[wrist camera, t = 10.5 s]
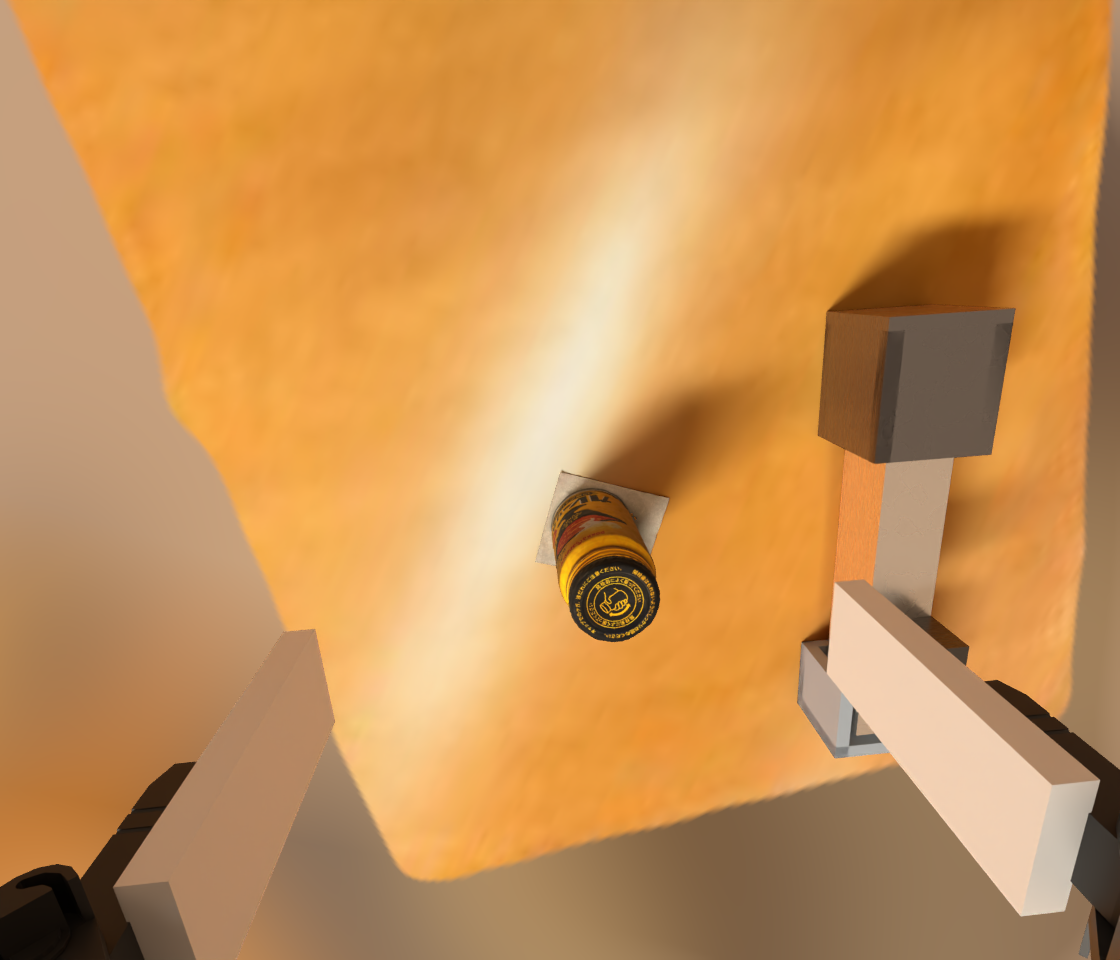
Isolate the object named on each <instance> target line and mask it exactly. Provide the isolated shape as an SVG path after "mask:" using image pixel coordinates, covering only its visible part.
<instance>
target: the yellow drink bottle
mask: <svg viewBox="0 0 1120 960" xmlns="http://www.w3.org/2000/svg"><path fill="white" fill-rule="evenodd" d="M668 501H669V498H666V497H661V496H657V495H653V494H649V493H644V492H640V491H636V490H632V489H628V488H624V487H620V486H616V485H612V484H608V483H604V482H600V481H596V480H591V479H588V478H583V477H578V476H575V475H571V474H566V473H560V475H559V478H558V482H557V485H556V488H555V492H554V496H553V499H552V503H551V506H550V510H549V513H548V517H547V521H546V524H545V528H544V531H543V535H542V539H541V543H540V546H539V550H538V554H537V557H536V561H535V562H538V563H543V564H548V565H553V566H556V568H557V574H558V583H559V587H560V591H561V594H562V597H563V598H564V600H565V602H566V603H567V605H568V606H569V608H570V612H571V615H572V618H573V620H574V622H575V623H576V624H577V625H578V627H579V628H580V629H581V630H583V631H584V632H585V633H587V634H588V635H590V636H591V637H593V638H595V639H597V640H603V641H609V642H618V641H624V640H628V639H630V638H632V637H634V636H635V635H637V634H638V633H640V632H641V631H643V630H644V629H645V628H646V627H647V626H648V625H650V624H651V623H652V621H653V619H654V617H655V616H656V613H657V610H658V608H659V603H660V591H659V587H658V584H657V581H656V569H655V565H654V562H653V559H652V557H651V555H650V554H651V551H652V548H653V545H654V542H655V539H656V534H657V533H658V530H659V528H660V525H661V522H662V518H663V515H664V512H665V510H666V507H667V504H668ZM631 513H633V516H632V515H631ZM634 517H636V520H635V519H634Z"/></svg>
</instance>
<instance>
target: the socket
mask: <svg viewBox="0 0 1120 960" xmlns="http://www.w3.org/2000/svg"><path fill="white" fill-rule="evenodd" d="M828 641H829V639H828V640H818V641H807V642H802V645H801V659H800V673H799V687H798V701H797V703H798V704H799V706H800V707H801V709H802V710H803V712H804V713H805V715H806V716H807V718H808V719H809V721H810V722H811V724H812V725H813V727H814V728H815V730H816V731H817V733H818V734H819V736H820V737H821V739H822V740H823V742H824V743H825V745H826V746H827V747H828V749H829V750H830V752H831V753H832V755H833V756H834V758H843V757H853V756H862V755H872V754H881V753H890V752H889V751H888V750H887V748H886V747H885V746H884V745H883V743H882V742H881V741H880V740H879V738H878V737H877V736H876V734H867V735H857V736H856V735H855V734H854V732H853V731H852V730H851V721H852V712H853V706H852V704H851V703H850V702H849V701H848V699H847V698H846V697H845V696H844V694H843V693H842V692H841V691H840V689H839V688H838V687H837V686H836V684H835V683H834V682H833V681H832V679H831V678H830V677H829V676H828V674H827V664H828V658H827V652H828Z"/></svg>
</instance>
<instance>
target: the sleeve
mask: <svg viewBox="0 0 1120 960" xmlns="http://www.w3.org/2000/svg"><path fill="white" fill-rule="evenodd" d="M1014 314H1015V308H997V307H977V306H957V305H936V304H929V305H915V306H900V307H886V308H872V309H857V310H843V311H828V312H827V316H826V330H825V344H824V358H823V372H822V385H821V399H820V413H819V427H818V436H820V437H822V438H824V439H826V440H828V441H830V442H832V443H834V444H836V445H838V446H839V447H841V448H843V449H845V450H847V451H849V452H851V453H853V454H855V455H857V456H859V457H861V458H863V459H865V460H867V461H869V462H871V463H873V464H882V463H894V462H906V461H918V460H931V459H943V458H955V457H967V456H980V455H991V453H992V447H993V441H994V435H995V429H996V423H997V417H998V411H999V405H1000V399H1001V393H1002V387H1003V381H1004V375H1005V369H1006V363H1007V356H1008V350H1009V344H1010V338H1011V332H1012V326H1013V320H1014Z"/></svg>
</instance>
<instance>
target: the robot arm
mask: <svg viewBox="0 0 1120 960" xmlns="http://www.w3.org/2000/svg"><path fill="white" fill-rule="evenodd" d="M827 674H828V676H829V677H830V678H831V679H832V681H833V682H834V683H835V684H836V686H837V687H838V688H839V689H840V691H841V692H842V693H843V694H844V696H845V697H846V698H847V699H848V701H849V702H850V703H851V704H852V706H853V707H854V708H855V709H856V711H857V712H858V713H859V714H860V716H861V717H862V718H863V719H864V721H865V722H866V723H867V724H868V726H869V727H870V728H871V729H872V731H873V732H874V733H875V734H876V736H877V737H878V738H879V740H880V741H881V742H882V743H883V745H884V746H885V747H886V748H887V750H888V751H889V752H890V753H891V755H892V756H893V757H894V758H895V760H896V761H897V762H898V763H899V765H900V766H901V767H902V768H903V769H904V771H905V772H906V773H907V774H908V776H909V777H910V778H911V780H912V781H913V782H914V783H915V785H916V786H917V787H918V788H919V789H920V791H921V792H922V793H923V795H924V796H925V797H926V798H927V800H928V801H929V802H930V803H931V805H932V806H933V807H934V808H935V810H936V811H937V812H938V813H939V815H940V816H941V817H942V818H943V820H944V821H945V822H946V823H947V825H948V826H949V827H950V828H951V830H952V831H953V832H954V833H955V834H956V835H957V837H958V838H959V840H960V841H961V842H962V843H963V845H964V846H965V847H966V848H967V850H968V851H969V852H970V853H971V855H972V856H973V857H974V858H975V860H976V861H977V862H978V863H979V865H980V866H981V867H982V869H983V870H984V871H985V872H986V874H987V875H988V876H989V877H990V879H991V880H992V881H993V882H994V884H995V885H996V886H997V887H998V888H999V890H1000V891H1001V892H1002V894H1003V895H1004V896H1005V897H1006V898H1007V900H1008V901H1009V902H1010V903H1011V905H1012V906H1013V907H1014V908H1015V910H1016V911H1017V912H1018V914H1019V915H1020V916H1028V915H1036V914H1044V913H1053V912H1061V911H1065V908H1066V905H1067V901H1068V897H1069V894H1070V890H1071V886H1072V883H1073V884H1074V885H1075V886H1076V888H1077V889H1078V890H1079V891H1080V892H1081V893H1082V894H1083V895H1084V896H1085V897H1086V898H1087V899H1088V901H1090V903H1091V904H1092V909H1091V912H1090V916H1089V919H1088V923H1087V926H1086V930H1085V933H1084V937H1083V940H1082V943H1081V947H1080V951H1079V955H1081V956H1083V957H1085V958H1088V955H1089V952H1090V950H1091V960H1120V770H1119V769H1118V768H1117V767H1116V766H1114V765H1113V764H1112V763H1111V762H1109V761H1108V760H1107V759H1106V758H1104V757H1103V756H1102V755H1100V754H1099V753H1098V752H1097V751H1096V750H1094V749H1093V748H1092V747H1091V746H1089V745H1088V744H1087V743H1086V742H1084V741H1083V740H1082V739H1081V738H1080V737H1078V736H1077V735H1076V734H1074V733H1070V732H1069V730H1068V728H1067V727H1066V726H1065V725H1063V724H1062V723H1061V722H1060V721H1058V720H1057V719H1056V718H1055V717H1050V714H1049V713H1048V712H1047V711H1046V710H1045V709H1043V708H1042V707H1041V706H1040V705H1039V704H1037V703H1036V702H1035V701H1034V700H1032V699H1031V698H1030V697H1029V696H1027V695H1026V694H1024V693H1022V692H1020V691H1018V690H1016V689H1014V688H1012V687H1010V686H1008V685H1006V684H1004V683H1002V682H1000V681H998V680H993V681H983V680H982V679H981V678H979V677H978V676H977V675H976V674H975V673H974V672H972V671H971V670H970V669H969V668H968V667H966V666H965V665H964V664H963V663H962V662H961V661H959V660H958V659H957V658H956V657H955V656H953V655H952V654H951V653H950V652H949V651H948V650H946V649H945V648H944V647H943V646H942V645H941V644H939V643H938V642H937V641H936V640H935V639H933V638H932V637H931V636H930V635H929V634H928V633H926V632H925V631H924V630H923V629H922V628H921V627H919V626H918V625H917V624H916V623H915V622H913V621H912V620H911V619H910V618H909V617H908V616H906V615H905V614H904V613H903V612H902V611H900V610H899V609H898V608H897V607H896V606H895V605H893V604H892V603H891V602H890V601H889V600H888V599H886V598H885V597H884V596H883V595H882V594H880V593H879V592H878V591H877V590H876V589H875V588H873V587H872V586H871V585H870V584H869V583H867V582H866V581H865V580H864V579H862V580H851V581H840V582H835V584H834V595H833V607H832V618H831V629H830V641H829V652H828V664H827ZM334 723H335V719H334V715H333V710H332V705H331V701H330V696H329V692H328V687H327V682H326V678H325V673H324V668H323V664H322V659H321V654H320V650H319V645H318V640H317V636H316V631H315V629H311V630H300V631H289V632H283V633H282V635H281V636H280V638H279V639H278V641H277V642H276V644H275V645H274V647H273V648H272V650H271V651H270V653H269V654H268V656H267V657H266V659H265V660H264V662H263V663H262V665H261V666H260V668H259V669H258V671H257V672H256V674H255V675H254V677H253V678H252V680H251V681H250V683H249V684H248V686H247V687H246V689H245V690H244V692H243V693H242V695H241V696H240V698H239V699H238V701H237V702H236V704H235V705H234V707H233V708H232V710H231V711H230V713H229V714H228V716H227V717H226V719H225V720H224V722H223V723H222V725H221V726H220V728H219V729H218V731H217V733H216V734H215V735H214V737H213V738H212V740H211V741H210V743H209V745H208V746H207V747H206V749H205V750H204V752H203V753H202V755H201V756H200V758H199V759H198V761H197V762H188V763H179V764H174V765H173V766H172V767H171V768H169V769H168V770H167V771H166V772H165V773H163V774H162V775H161V776H160V777H159V778H158V779H156V780H155V781H154V782H153V783H152V784H150V785H149V786H148V788H147V790H146V791H145V792H144V793H143V795H142V796H141V797H140V799H139V800H138V801H137V803H136V804H135V806H134V807H133V808H132V812H131V814H128V815H127V817H126V818H125V820H124V821H123V822H122V823H121V825H120V826H119V827H118V829H117V833H116V834H115V835H113V836H112V837H111V838H110V840H109V841H108V843H107V844H106V845H105V847H104V848H103V849H102V851H101V852H100V854H99V855H98V856H97V858H96V859H95V860H94V862H93V863H92V864H91V866H90V867H89V869H88V870H87V871H86V873H85V874H84V875H83V877H82V878H81V879H79V876H78V874H77V873H76V872H75V871H74V870H73V868H72V867H70V866H65V865H59V864H56V865H50V866H45V867H40V868H37V869H34V870H32V871H29V872H27V873H25V874H23V875H20V876H18V877H16V878H14V879H12V880H11V881H9V882H7V883H6V884H4V885H3V886H1V887H0V960H237V957H238V955H239V952H240V950H241V947H242V945H243V943H244V940H245V938H246V936H247V933H248V931H249V928H250V926H251V923H252V921H253V918H254V916H255V914H256V911H257V909H258V906H259V904H260V902H261V899H262V897H263V894H264V892H265V890H266V887H267V885H268V882H269V880H270V877H271V875H272V873H273V870H274V867H275V865H276V863H277V860H278V858H279V856H280V853H281V851H282V848H283V846H284V843H285V841H286V839H287V836H288V834H289V831H290V829H291V827H292V824H293V822H294V819H295V817H296V814H297V812H298V810H299V807H300V805H301V802H302V800H303V797H304V795H305V793H306V790H307V788H308V785H309V783H310V781H311V778H312V776H313V773H314V771H315V769H316V766H317V764H318V761H319V759H320V756H321V754H322V752H323V749H324V746H325V744H326V742H327V739H328V737H329V735H330V732H331V730H332V727H333V725H334Z"/></svg>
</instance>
